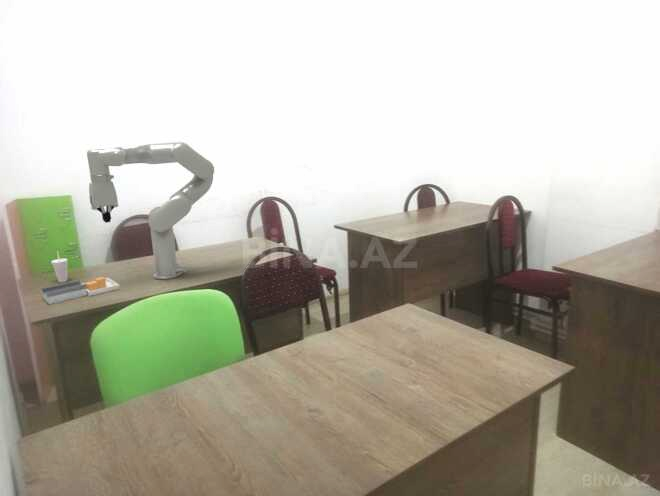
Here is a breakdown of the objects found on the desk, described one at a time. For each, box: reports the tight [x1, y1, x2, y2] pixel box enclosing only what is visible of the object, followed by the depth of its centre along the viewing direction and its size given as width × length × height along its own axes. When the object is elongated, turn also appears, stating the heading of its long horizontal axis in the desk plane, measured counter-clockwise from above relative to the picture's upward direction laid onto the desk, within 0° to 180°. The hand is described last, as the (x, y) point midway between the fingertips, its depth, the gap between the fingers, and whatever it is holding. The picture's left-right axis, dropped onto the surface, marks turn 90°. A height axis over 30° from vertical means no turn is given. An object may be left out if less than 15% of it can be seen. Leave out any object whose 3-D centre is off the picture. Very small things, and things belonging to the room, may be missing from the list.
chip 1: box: [84, 280, 99, 291], centre depth 202 cm, size 4×4×3 cm
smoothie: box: [50, 250, 69, 283], centre depth 215 cm, size 6×6×14 cm
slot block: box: [41, 279, 89, 305], centre depth 195 cm, size 14×10×4 cm
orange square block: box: [94, 276, 106, 289], centre depth 204 cm, size 4×4×3 cm
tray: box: [81, 277, 121, 297], centre depth 204 cm, size 12×14×2 cm
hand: (107, 221), depth 206 cm, fingers closed
